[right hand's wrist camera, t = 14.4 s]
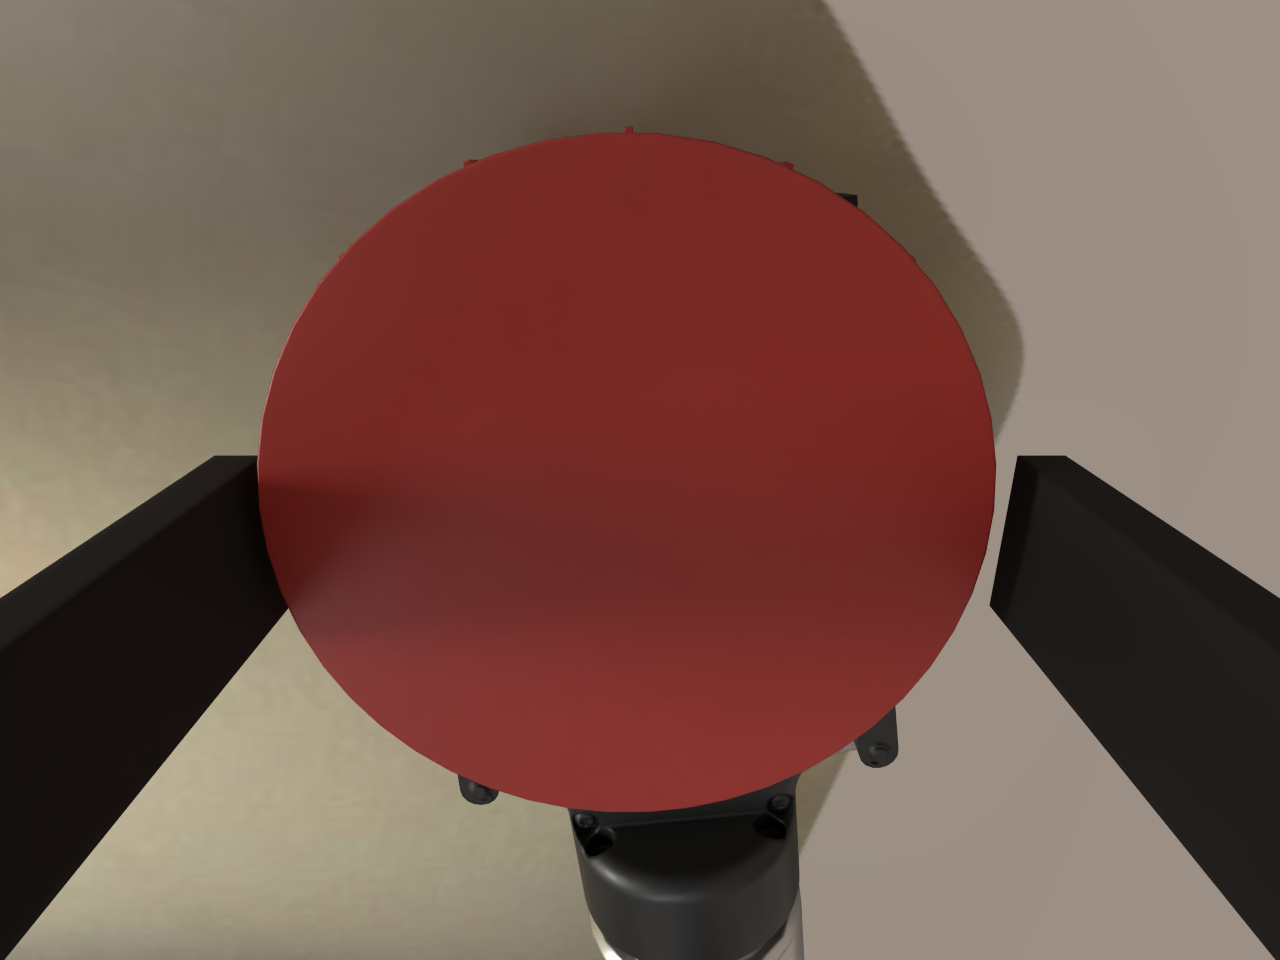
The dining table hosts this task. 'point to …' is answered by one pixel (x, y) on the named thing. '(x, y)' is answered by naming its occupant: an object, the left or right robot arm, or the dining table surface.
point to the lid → (626, 472)
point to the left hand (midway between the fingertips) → (611, 221)
